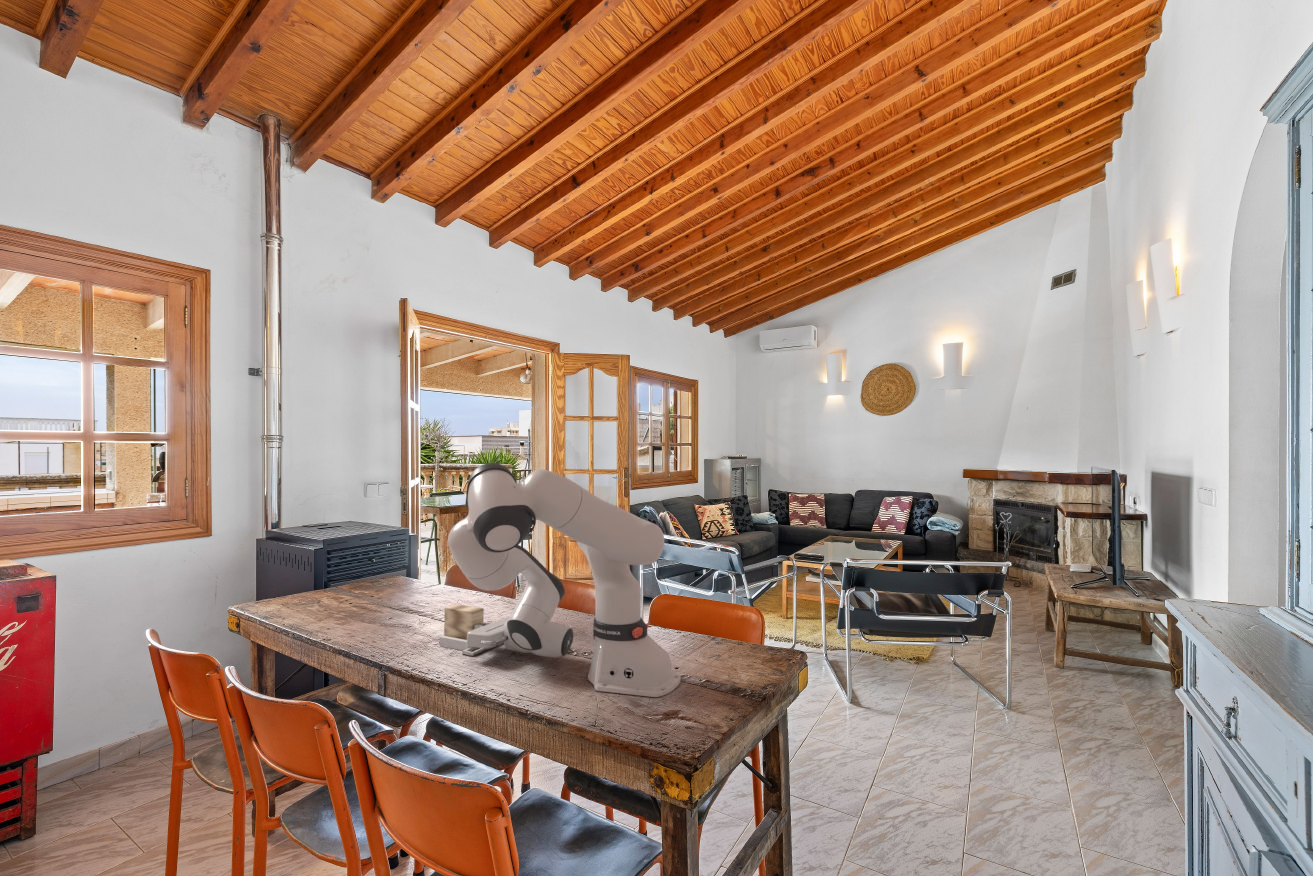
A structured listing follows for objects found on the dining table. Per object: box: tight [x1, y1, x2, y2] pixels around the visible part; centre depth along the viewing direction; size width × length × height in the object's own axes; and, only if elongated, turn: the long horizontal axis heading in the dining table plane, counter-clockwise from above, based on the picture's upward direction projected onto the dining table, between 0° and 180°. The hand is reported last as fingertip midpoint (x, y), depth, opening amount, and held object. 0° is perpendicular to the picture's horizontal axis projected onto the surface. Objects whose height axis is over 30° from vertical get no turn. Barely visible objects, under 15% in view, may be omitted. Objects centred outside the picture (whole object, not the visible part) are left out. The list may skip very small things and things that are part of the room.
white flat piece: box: [439, 635, 471, 651], centre depth 166 cm, size 10×9×2 cm
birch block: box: [443, 603, 485, 640], centre depth 167 cm, size 10×4×10 cm, turn 65°
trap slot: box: [461, 645, 499, 657], centre depth 163 cm, size 4×14×1 cm, turn 156°
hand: (477, 626), depth 164 cm, fingers closed
